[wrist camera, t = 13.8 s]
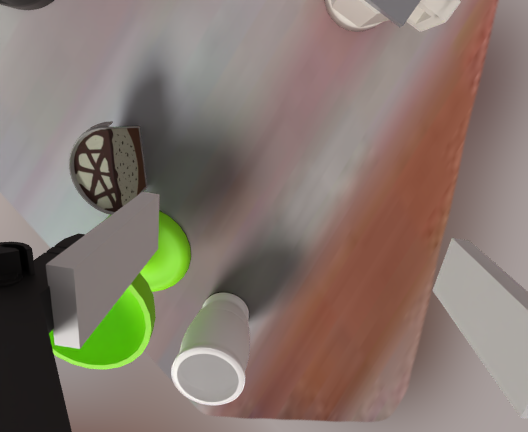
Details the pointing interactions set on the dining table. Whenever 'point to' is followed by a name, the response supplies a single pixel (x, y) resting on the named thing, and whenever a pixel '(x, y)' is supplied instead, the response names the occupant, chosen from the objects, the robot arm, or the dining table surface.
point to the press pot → (389, 13)
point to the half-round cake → (108, 166)
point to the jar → (214, 352)
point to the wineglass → (133, 306)
